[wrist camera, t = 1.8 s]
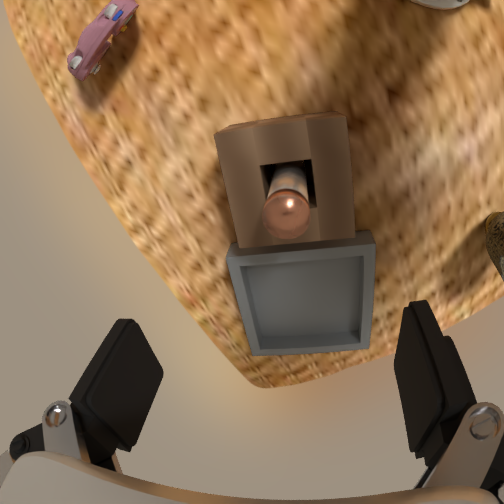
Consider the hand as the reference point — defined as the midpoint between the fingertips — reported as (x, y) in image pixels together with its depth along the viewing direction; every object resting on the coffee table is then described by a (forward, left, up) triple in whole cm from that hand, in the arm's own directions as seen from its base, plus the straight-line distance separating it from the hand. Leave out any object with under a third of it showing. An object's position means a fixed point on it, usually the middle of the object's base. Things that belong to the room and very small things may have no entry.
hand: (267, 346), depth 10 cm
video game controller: (+15, -19, -22) cm, 33 cm away
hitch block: (0, 0, -22) cm, 22 cm away
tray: (0, +15, -22) cm, 26 cm away
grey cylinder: (0, 0, -22) cm, 22 cm away
